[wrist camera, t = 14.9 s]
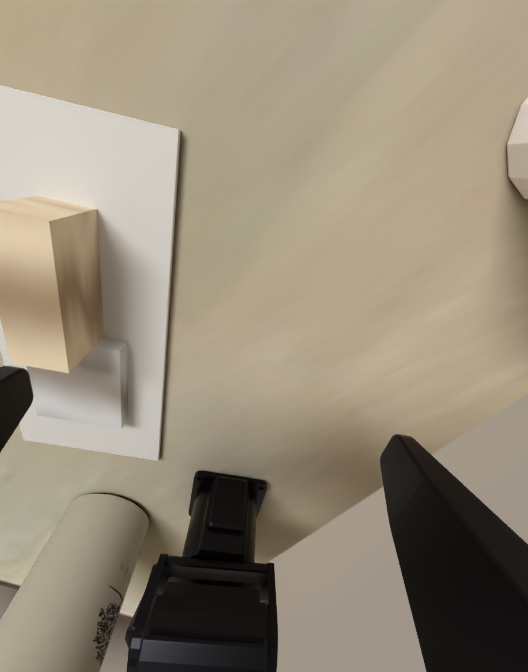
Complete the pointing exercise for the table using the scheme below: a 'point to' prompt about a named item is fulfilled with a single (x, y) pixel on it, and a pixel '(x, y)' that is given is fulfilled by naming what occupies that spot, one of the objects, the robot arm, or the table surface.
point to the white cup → (519, 151)
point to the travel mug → (74, 589)
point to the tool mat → (104, 242)
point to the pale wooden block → (60, 311)
